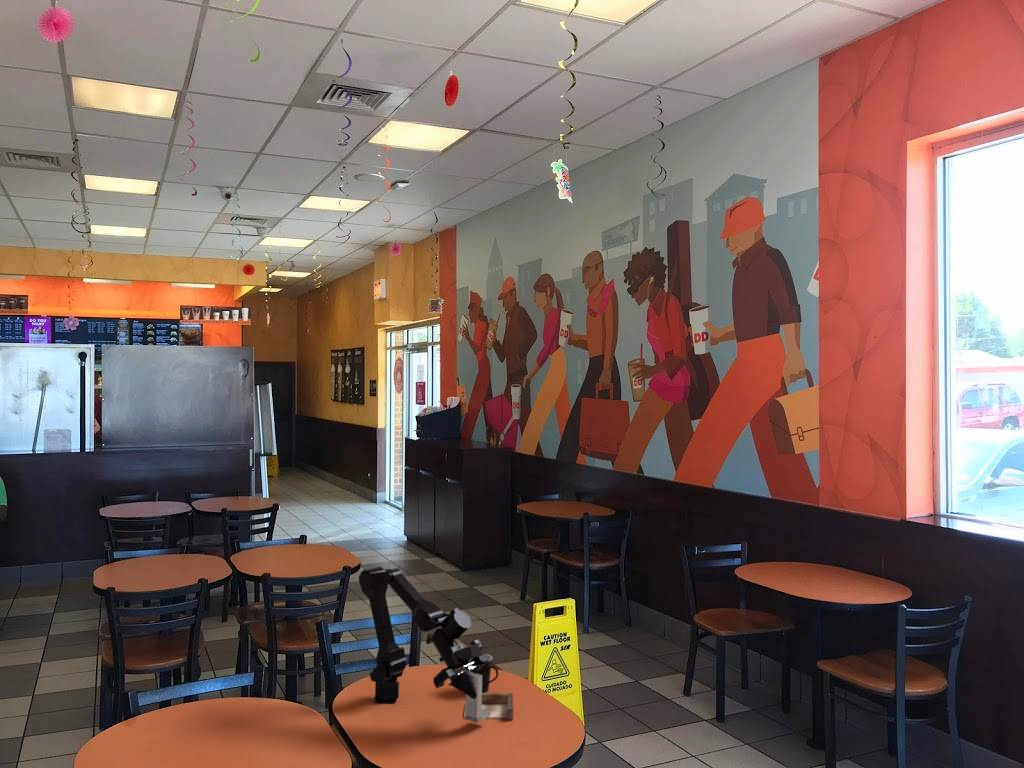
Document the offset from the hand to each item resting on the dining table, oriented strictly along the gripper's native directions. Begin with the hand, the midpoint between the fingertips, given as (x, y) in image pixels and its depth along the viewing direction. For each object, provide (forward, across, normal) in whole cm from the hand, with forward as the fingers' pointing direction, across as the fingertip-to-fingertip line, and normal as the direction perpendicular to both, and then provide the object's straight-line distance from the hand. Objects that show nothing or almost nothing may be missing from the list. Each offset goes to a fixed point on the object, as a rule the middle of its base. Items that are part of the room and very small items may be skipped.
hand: (477, 696), depth 220 cm
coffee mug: (-5, +22, +18) cm, 29 cm away
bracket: (+4, +2, +6) cm, 7 cm away
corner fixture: (+3, +12, +10) cm, 16 cm away
